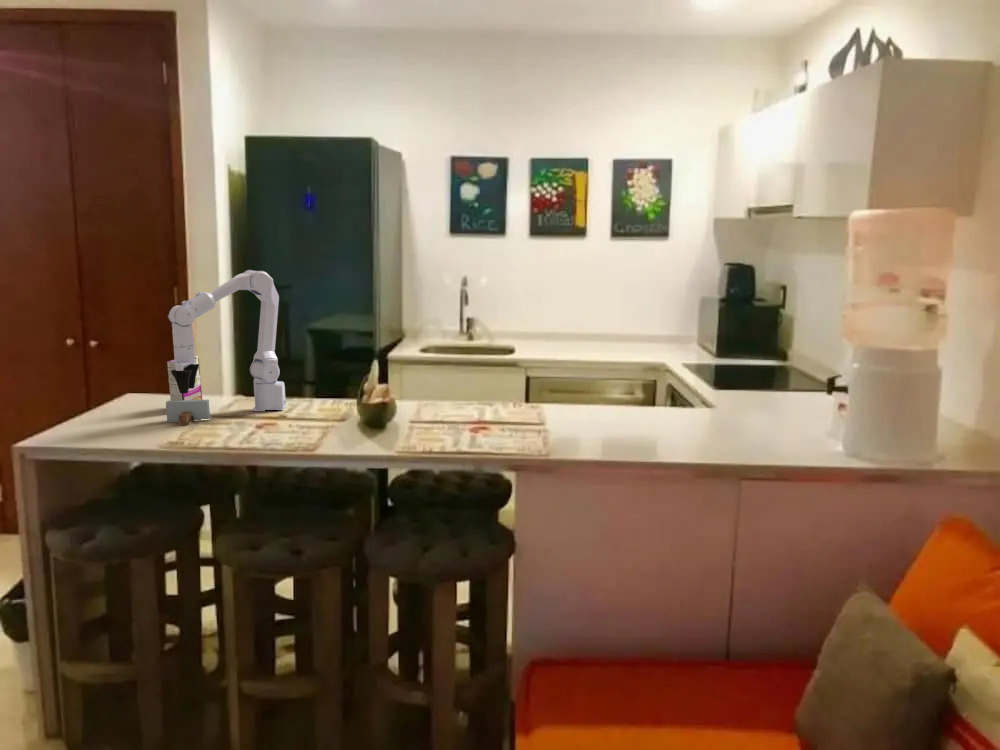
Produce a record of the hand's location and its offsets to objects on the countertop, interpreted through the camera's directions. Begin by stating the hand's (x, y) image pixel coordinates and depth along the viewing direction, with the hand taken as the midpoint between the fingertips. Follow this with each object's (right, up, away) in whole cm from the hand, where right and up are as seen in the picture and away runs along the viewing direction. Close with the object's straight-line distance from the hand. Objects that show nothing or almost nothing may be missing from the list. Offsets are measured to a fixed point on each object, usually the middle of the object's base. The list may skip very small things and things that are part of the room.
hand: (187, 390), depth 259 cm
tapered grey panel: (0, -9, +2) cm, 9 cm away
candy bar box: (-7, -6, +19) cm, 21 cm away
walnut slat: (0, -9, +2) cm, 9 cm away
